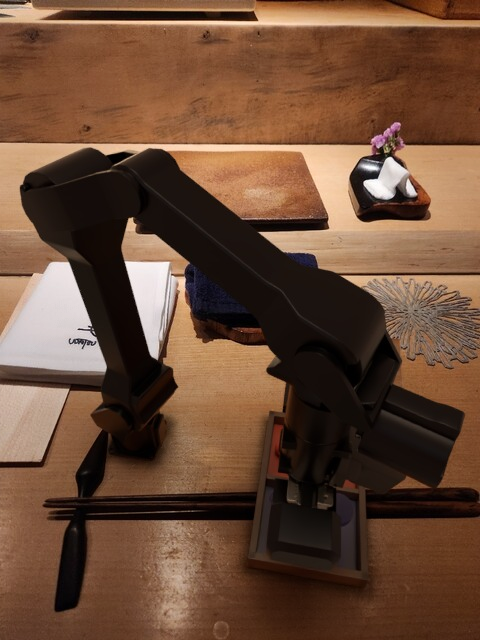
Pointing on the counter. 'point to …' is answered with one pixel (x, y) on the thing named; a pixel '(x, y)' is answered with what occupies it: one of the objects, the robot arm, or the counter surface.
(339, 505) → the indigo spoon
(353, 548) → the sorting tray
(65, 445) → the counter surface
